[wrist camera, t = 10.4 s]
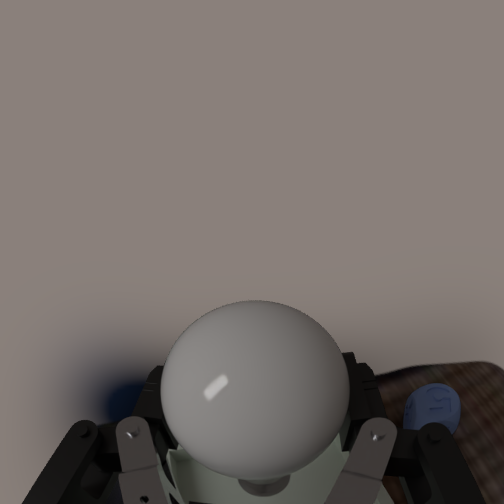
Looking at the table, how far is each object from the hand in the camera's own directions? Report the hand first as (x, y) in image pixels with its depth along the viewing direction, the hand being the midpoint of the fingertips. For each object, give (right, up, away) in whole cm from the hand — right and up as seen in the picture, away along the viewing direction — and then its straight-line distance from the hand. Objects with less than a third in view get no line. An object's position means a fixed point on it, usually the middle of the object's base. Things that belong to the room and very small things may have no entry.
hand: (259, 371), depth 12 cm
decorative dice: (+14, -10, +7) cm, 19 cm away
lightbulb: (0, -7, 0) cm, 7 cm away
